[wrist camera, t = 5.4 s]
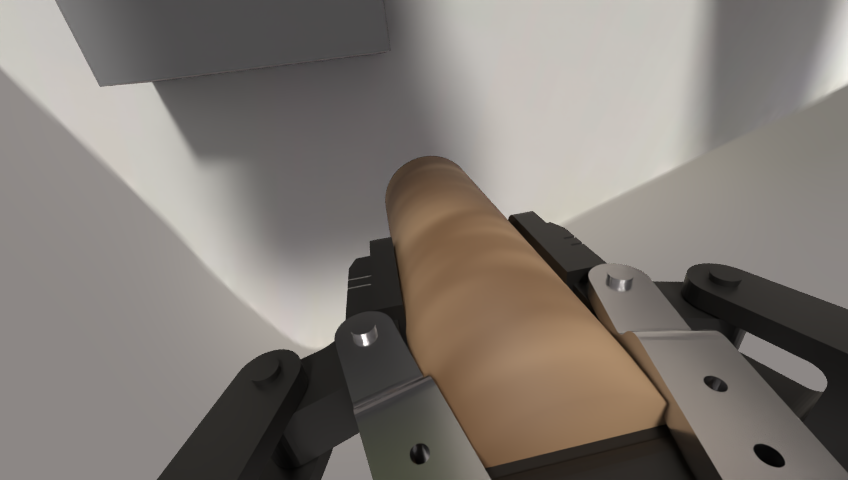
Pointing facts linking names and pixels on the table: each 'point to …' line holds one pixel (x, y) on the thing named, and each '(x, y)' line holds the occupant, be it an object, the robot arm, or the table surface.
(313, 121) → the table surface
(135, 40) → the socket base
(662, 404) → the peg
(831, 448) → the robot arm
